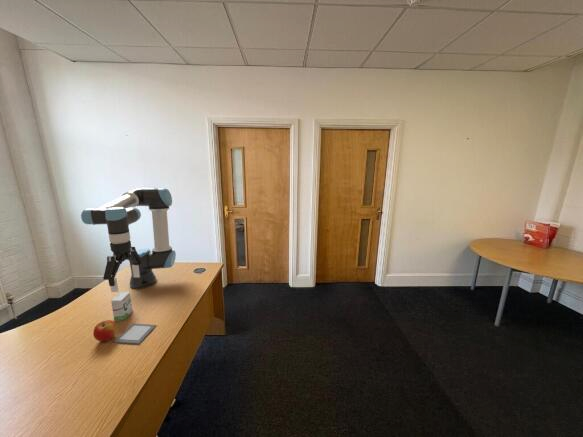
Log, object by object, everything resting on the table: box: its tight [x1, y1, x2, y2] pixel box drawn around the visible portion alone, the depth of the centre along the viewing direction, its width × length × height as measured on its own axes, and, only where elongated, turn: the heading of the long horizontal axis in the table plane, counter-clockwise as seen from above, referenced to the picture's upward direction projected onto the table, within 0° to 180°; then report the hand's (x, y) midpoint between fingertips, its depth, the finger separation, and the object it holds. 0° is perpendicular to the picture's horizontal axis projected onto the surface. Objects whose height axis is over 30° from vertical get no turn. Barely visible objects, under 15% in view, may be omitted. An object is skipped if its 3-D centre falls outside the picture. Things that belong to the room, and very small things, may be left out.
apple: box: [93, 319, 118, 342], centre depth 102 cm, size 8×8×10 cm
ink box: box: [110, 291, 133, 322], centre depth 118 cm, size 9×5×12 cm, turn 9°
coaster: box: [113, 323, 157, 345], centre depth 107 cm, size 12×12×1 cm
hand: (126, 283), depth 105 cm, fingers open, 13 cm apart
